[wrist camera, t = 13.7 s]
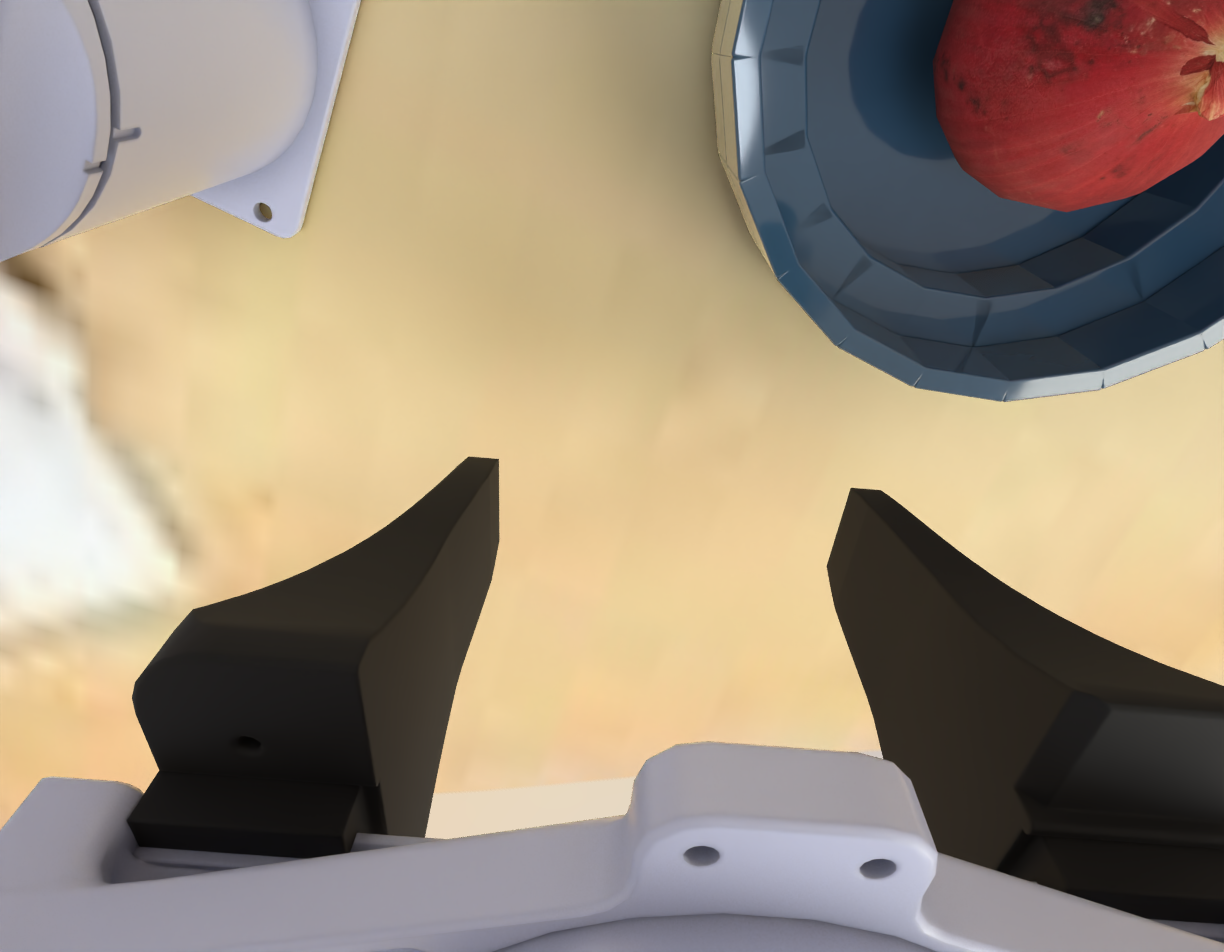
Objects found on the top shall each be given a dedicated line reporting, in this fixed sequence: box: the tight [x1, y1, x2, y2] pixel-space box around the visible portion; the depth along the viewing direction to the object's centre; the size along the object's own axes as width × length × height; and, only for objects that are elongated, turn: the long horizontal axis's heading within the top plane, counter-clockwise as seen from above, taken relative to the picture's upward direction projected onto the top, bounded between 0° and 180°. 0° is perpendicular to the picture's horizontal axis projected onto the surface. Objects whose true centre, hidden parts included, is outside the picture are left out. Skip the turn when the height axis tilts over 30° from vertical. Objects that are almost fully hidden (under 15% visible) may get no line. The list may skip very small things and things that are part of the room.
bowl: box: [711, 0, 1224, 402], centre depth 16 cm, size 15×15×5 cm
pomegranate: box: [933, 0, 1224, 212], centre depth 14 cm, size 6×6×8 cm
